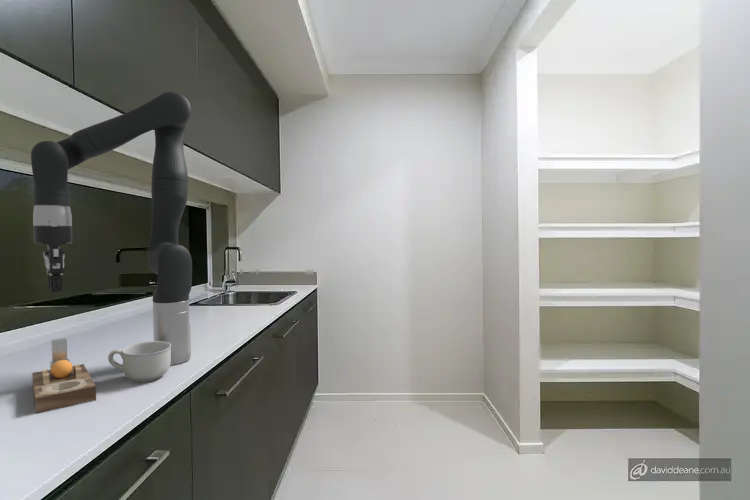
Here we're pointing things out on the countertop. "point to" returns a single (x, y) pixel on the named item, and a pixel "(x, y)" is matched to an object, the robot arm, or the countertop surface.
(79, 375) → the wooden holder
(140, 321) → the countertop surface
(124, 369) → the teacup
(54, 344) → the grey upright block
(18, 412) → the countertop surface
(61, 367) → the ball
